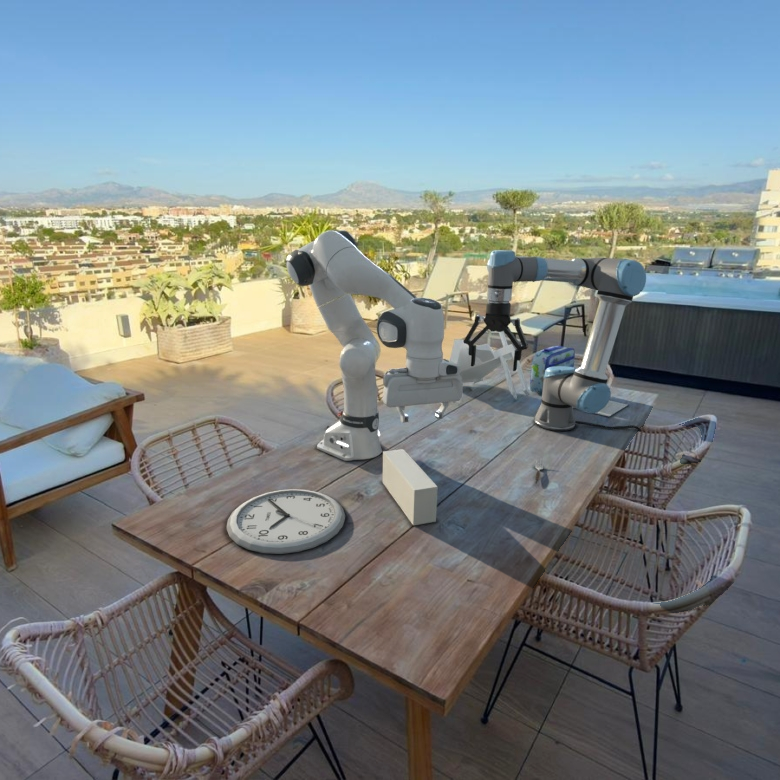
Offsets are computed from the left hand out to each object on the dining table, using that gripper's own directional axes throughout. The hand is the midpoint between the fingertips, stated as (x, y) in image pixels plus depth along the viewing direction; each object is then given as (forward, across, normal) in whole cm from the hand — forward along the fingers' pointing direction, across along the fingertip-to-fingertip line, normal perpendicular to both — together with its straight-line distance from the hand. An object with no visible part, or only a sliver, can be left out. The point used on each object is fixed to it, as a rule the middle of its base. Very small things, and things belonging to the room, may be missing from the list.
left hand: (421, 419), depth 131 cm
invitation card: (+27, +109, +58) cm, 127 cm away
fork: (+27, +45, +11) cm, 53 cm away
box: (+27, 0, +8) cm, 28 cm away
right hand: (-3, +38, +30) cm, 48 cm away
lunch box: (+27, +102, +84) cm, 135 cm away
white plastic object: (+27, +68, +92) cm, 117 cm away
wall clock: (+27, -33, +8) cm, 44 cm away
